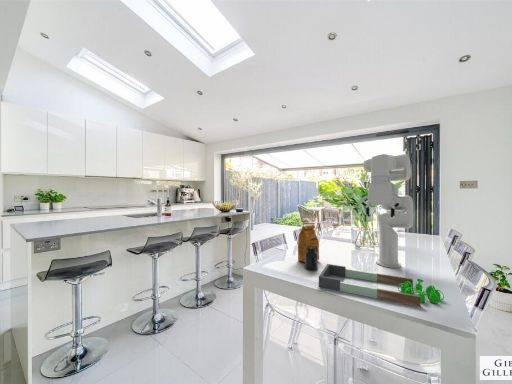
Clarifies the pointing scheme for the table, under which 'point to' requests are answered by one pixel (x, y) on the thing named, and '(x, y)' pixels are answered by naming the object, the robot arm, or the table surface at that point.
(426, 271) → the table surface
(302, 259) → the coffee package
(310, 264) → the supplement bottle
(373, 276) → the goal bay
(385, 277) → the walnut channel
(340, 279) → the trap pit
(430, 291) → the green bumpy clump
